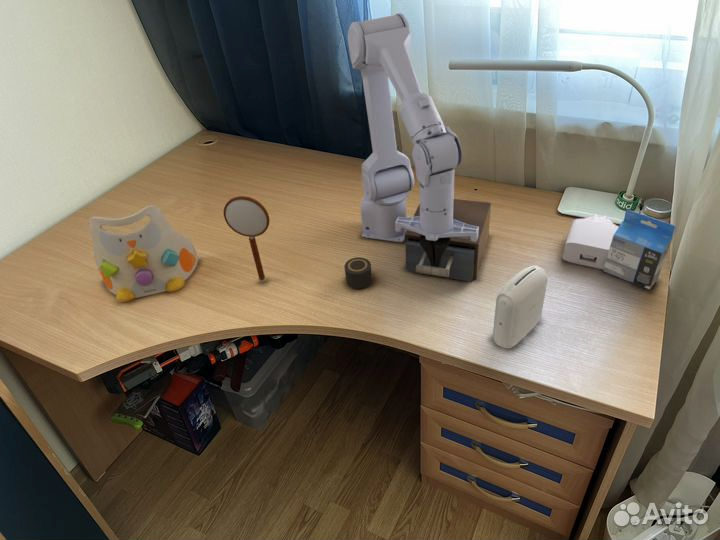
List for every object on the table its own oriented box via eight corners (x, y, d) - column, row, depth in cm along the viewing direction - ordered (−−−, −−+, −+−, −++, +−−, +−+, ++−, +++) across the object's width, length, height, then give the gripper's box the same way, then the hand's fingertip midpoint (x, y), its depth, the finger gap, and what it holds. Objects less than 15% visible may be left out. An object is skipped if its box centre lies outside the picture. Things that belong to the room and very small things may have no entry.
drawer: (466, 300, 99) (467, 271, 94) (398, 289, 102) (397, 261, 98) (483, 241, 112) (485, 213, 108) (423, 233, 116) (422, 206, 112)
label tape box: (602, 271, 103) (616, 217, 95) (611, 261, 105) (626, 207, 97) (649, 291, 98) (668, 235, 90) (658, 279, 100) (677, 225, 92)
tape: (342, 287, 106) (340, 271, 103) (351, 271, 109) (349, 255, 107) (367, 291, 104) (365, 275, 102) (375, 274, 108) (374, 258, 105)
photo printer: (509, 353, 89) (517, 298, 81) (488, 340, 92) (493, 285, 84) (544, 320, 94) (554, 265, 86) (522, 309, 97) (530, 255, 89)
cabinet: (476, 280, 104) (478, 244, 99) (405, 269, 108) (404, 234, 103) (488, 237, 115) (491, 202, 109) (423, 229, 119) (423, 195, 113)
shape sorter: (99, 310, 106) (61, 237, 95) (104, 278, 114) (69, 207, 103) (200, 287, 109) (174, 213, 98) (198, 257, 117) (174, 186, 106)
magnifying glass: (284, 280, 109) (265, 194, 96) (282, 285, 108) (262, 199, 95) (244, 278, 110) (220, 194, 98) (241, 283, 109) (217, 199, 97)
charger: (621, 229, 113) (611, 271, 103) (575, 220, 117) (561, 260, 106) (626, 210, 110) (617, 251, 100) (579, 202, 114) (565, 241, 104)
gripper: (388, 210, 91) (392, 272, 99) (475, 221, 86) (471, 285, 95) (400, 189, 96) (402, 250, 104) (482, 198, 91) (478, 261, 100)
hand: (436, 265), depth 100 cm, fingers closed
